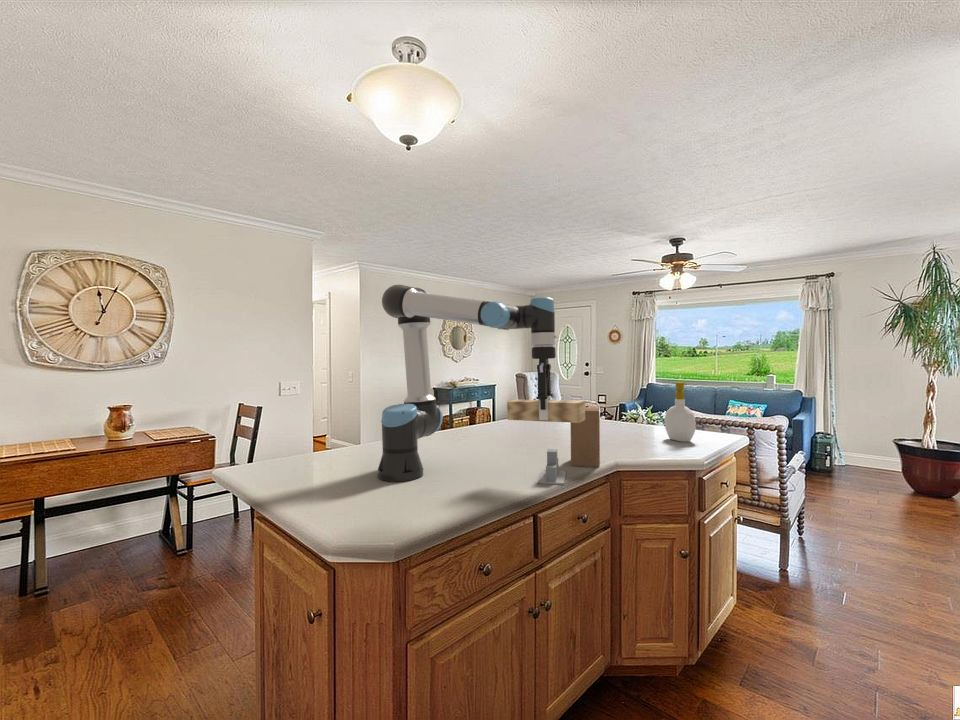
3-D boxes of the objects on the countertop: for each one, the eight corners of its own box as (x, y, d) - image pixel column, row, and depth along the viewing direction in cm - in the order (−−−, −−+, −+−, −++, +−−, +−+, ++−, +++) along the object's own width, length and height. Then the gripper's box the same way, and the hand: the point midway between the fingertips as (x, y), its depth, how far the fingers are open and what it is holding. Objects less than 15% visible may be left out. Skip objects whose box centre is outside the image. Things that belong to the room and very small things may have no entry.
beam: (507, 419, 150) (507, 401, 150) (515, 417, 155) (514, 399, 155) (579, 422, 138) (578, 403, 138) (585, 420, 143) (584, 400, 143)
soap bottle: (701, 441, 201) (701, 382, 200) (689, 444, 196) (689, 383, 196) (672, 436, 213) (672, 380, 213) (660, 438, 209) (660, 381, 208)
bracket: (537, 483, 143) (537, 454, 143) (542, 471, 157) (542, 445, 156) (563, 484, 141) (563, 455, 141) (566, 472, 155) (565, 446, 155)
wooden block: (599, 467, 161) (599, 410, 160) (570, 466, 163) (570, 410, 162) (598, 460, 171) (598, 407, 170) (571, 459, 173) (570, 406, 172)
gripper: (551, 345, 136) (553, 423, 136) (558, 346, 155) (559, 413, 155) (526, 346, 138) (528, 422, 138) (536, 346, 157) (537, 413, 157)
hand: (545, 418), depth 147 cm, fingers closed on beam, 7 cm apart
